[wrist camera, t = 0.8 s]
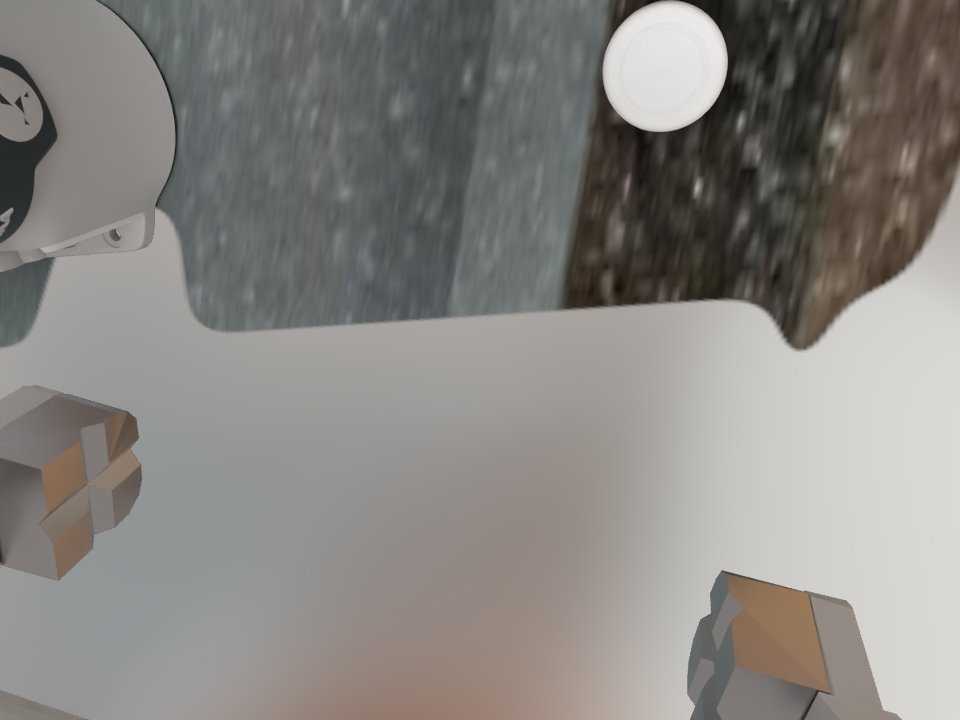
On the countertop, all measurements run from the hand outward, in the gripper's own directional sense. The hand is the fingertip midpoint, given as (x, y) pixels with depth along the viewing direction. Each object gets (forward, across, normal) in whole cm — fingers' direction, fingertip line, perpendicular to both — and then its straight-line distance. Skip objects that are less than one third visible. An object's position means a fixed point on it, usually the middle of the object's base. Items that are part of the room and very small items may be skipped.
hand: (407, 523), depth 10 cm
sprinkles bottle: (+36, +2, +4) cm, 37 cm away
